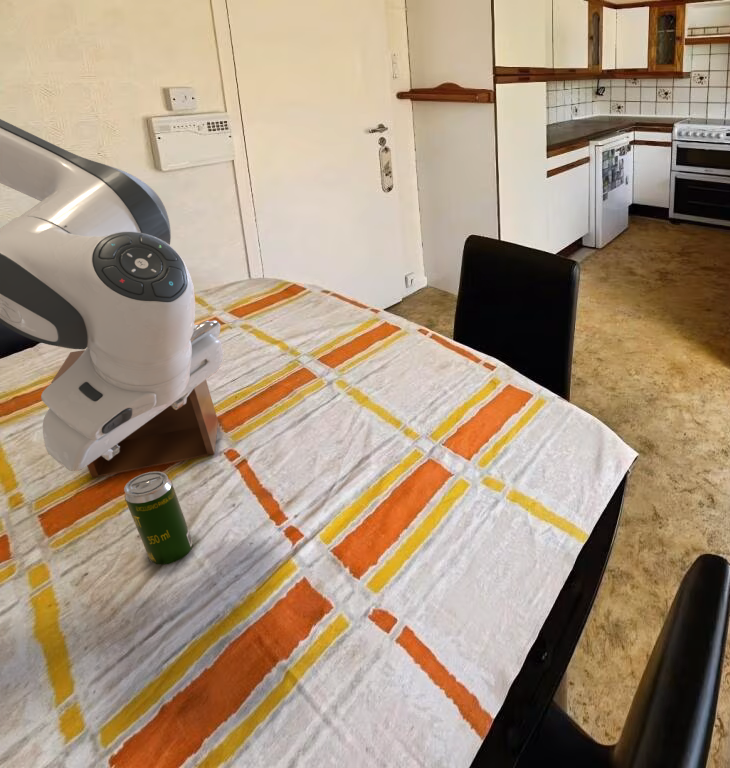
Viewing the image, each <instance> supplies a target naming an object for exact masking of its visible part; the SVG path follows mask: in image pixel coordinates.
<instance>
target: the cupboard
mask: <svg viewBox="0 0 730 768" xmlns="http://www.w3.org/2000/svg"><path fill="white" fill-rule="evenodd" d="M85 350H86V349H82V350H77V351H71V352H70V353H69V354H68V355H67V357H66V358H65V360H64V362H63V363H62V365H61V367H60V368H59V369H58V371H57V373H55V376H54V377H53V379H52V380H51V382H50V384H52V383H53V382H54V381H55V380H56V379H58V378H59V377H60V376H61V375H62V374H63V373H64V372H66V371H67V370H68V369H69V368H70V367H71V366H72V365H73V364H74V363H75V362H76V361H77V359H78V358H79V357H80V356H81V355H82V353H83V352H84V351H85ZM218 428H219V420H218V416H217V412H216V408H215V406H214V401H213V399H212V395H211V392H210V389H209V386H208V382H207V379H206V380H205V381H203V382H202V383H201V384H199V385H198V386H196V387H195V388H194V389H193V390H192V392H191V393H190V394H189V396H188V397H187V400H186V404H184V405H183V406H182V407H180V408H179V409H177V410H174V409H173V407H172V406H169V407H167V408H166V409H165V410H163V411H162V412H160V413H159V414H158V415H156V416H155V417H154V418H152V419H151V420H149V421H148V422H147V423H145V424H144V425H143V426H141V427H140V428H138V429H137V430H136V431H134V432H133V433H131V434H130V435H129V436H127V437H126V438H125V439H123V440H122V441H120V442H119V443H118V444H117V445H118V446H119V448H120V449H119V451H120V452H119V453H118V454H116V455H115V456H114V457H112V458H111V459H110V460H106V459H105V458H104V457H103V456H100V457H98V458H97V459H96V460H94V461H93V462H91V463H90V464H89V465H87V466H86V467H87V470H88V472H89V474H90V476H91V479H95V478H100V477H105V476H111V475H116V474H120V473H128V472H132V471H136V470H142V469H147V468H152V467H158V466H163V465H167V464H173V463H177V462H183V461H184V462H185V461H188V460H194V459H199V458H202V457H209V456H214V455H215V452H216V446H217V445H216V444H217V438H218V437H217V436H218Z"/></svg>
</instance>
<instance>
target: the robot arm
mask: <svg viewBox="0 0 730 768" xmlns="http://www.w3.org/2000/svg"><path fill="white" fill-rule="evenodd" d="M0 184H1V185H4V186H6V187H8V188H10V189H13V190H14V191H16V192H19V193H22V194H23V195H26V196H28V197H31V198H33V199H34V200H37V201H39V202H38V203H36V204H35V205H34V206H31V208H29V209H28V210H26V211H25V212H23V213H22V214H20V215H19V216H17V217H14V218H13V219H11V220H10V221H8V222H7V223H5V224H4V225H2V226H1V227H0V324H1V325H3V326H4V327H5V328H8V329H9V330H11V331H13V332H14V333H16V334H18V335H21V336H22V337H24V338H27V339H29V340H32V341H35V342H38V343H41V344H44V345H48V346H52V347H53V346H54V347H58V348H64V349H71V350H85V351H84V352H83V353H82V355H81V356H80V357H79V358H78V359H77V361H76V362H75V363H74V364H73V365H72V366H71V367H70V368H69V369H68V370H67V371H66V372H64V373H63V374H62V375H61V376H60V377H59V378H58V379H56V380H55V381H54V382H53V383H50V384H49V385H48V386H46V388H45V389H44V390H43V391H42V393H41V395H40V398H41V401H42V402H43V404H44V405H45V406H46V407H47V408H48V409H47V411H46V413H45V415H44V417H43V421H42V435H43V443H44V448H45V449H46V452H47V453H48V454H49V455H50V457H51V458H53V459H54V460H55V461H56V462H57V463H59V464H60V465H61V466H62V467H64V468H65V469H66V470H68V471H70V472H78V471H82V470H83V469H85V468H86V467H87V465H89V464H90V463H91V462H93V461H94V460H96V459H97V458H98V457H100V456H103V457H104V458H105V459H106V460H110V459H111V458H112V457H114V456H115V455H116V454H118V453H119V452H120V451H119V449H120V448H119V446H118V445H117V444H118V443H119V442H120V441H122V440H123V439H125V438H126V437H127V436H129V435H130V434H131V433H133V432H134V431H136V430H137V429H138V428H140V427H141V426H143V425H144V424H145V423H147V422H148V421H149V420H151V419H152V418H154V417H155V416H156V415H158V414H159V413H160V412H162V411H163V410H165V409H166V408H167V407H169V406H172V407H173V409H174V410H177V409H179V408H180V407H182V406H183V405H184V404H186V400H187V397H188V396H189V394H190V393H191V392H192V390H193V389H194V388H195V387H196V386H198V385H199V384H201V383H202V382H203V381H205V380H206V381H207V380H208V379H209V378H210V377H212V376H214V375H215V374H216V373H217V372H218V371H219V369H220V368H221V366H222V365H223V364H224V363H223V362H224V350H223V344H222V342H221V340H219V336H220V334H221V329H222V328H221V327H222V325H221V324H220V322H219V321H218V320H205V321H202V322H200V323H199V324H195V319H196V296H195V295H196V294H195V288H194V287H195V286H194V283H193V279H192V276H191V273H190V271H189V268H188V266H187V265H186V262H185V261H184V258H182V256H181V255H180V253H178V251H177V250H176V249H175V248H173V246H171V238H172V236H171V234H172V233H171V223H170V219H169V215H168V212H167V209H166V206H165V205H164V202H163V201H162V199H161V198H160V196H159V195H158V194H157V192H155V190H154V189H153V188H152V187H151V186H150V185H148V184H147V183H146V182H145V181H142V180H141V179H140V178H138V177H137V176H134V175H133V174H131V173H129V172H126V171H124V170H122V169H120V168H117V167H114V166H110V165H108V164H105V163H101V162H98V161H95V160H91V159H88V158H86V157H83V156H80V155H77V154H75V153H73V152H70V151H69V150H66V149H64V148H62V147H60V146H58V145H55V144H53V143H52V142H49V141H47V140H45V139H44V138H41V137H39V136H37V135H35V134H32V133H30V132H28V131H26V130H24V129H22V128H20V127H18V126H16V125H13V124H11V122H8V121H5V120H3V119H1V118H0Z"/></svg>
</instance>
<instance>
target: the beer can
mask: <svg viewBox="0 0 730 768" xmlns="http://www.w3.org/2000/svg"><path fill="white" fill-rule="evenodd" d="M123 492H124V499H125V502H126V505H127V507H128V509H129V512H130V515H131V517H132V520H133V523H134V524H135V527H136V530H137V532H138V535H139V537H140V539H141V542H142V544H143V547H144V550H145V552H146V554H147V556H148V557H147V558H148V559H149V562H151V563H152V564H154V565H157V566H164V565H171V564H174V563H176V562H178V561H181V560H182V559H184V558H185V557H186V556H188V555H189V554H190V552H191V551H192V549H193V547H194V542H193V541H194V540H193V538H192V536H191V533H190V532H191V531H190V530H189V526H188V524H187V522H186V518H185V515H184V512H183V510H182V507H181V504H180V501H179V499H178V496H177V495H178V494H177V493H176V490H175V487H174V484H173V482H172V480H171V479H170V478H169V477H168V475H167V474H166V473H165V472H162V471H149V472H145V473H142V474H139V475H137V476H135V477H133V478H132V479H130V480H129V481H128V482H127V483H126V484H125V486H124V488H123Z"/></svg>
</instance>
